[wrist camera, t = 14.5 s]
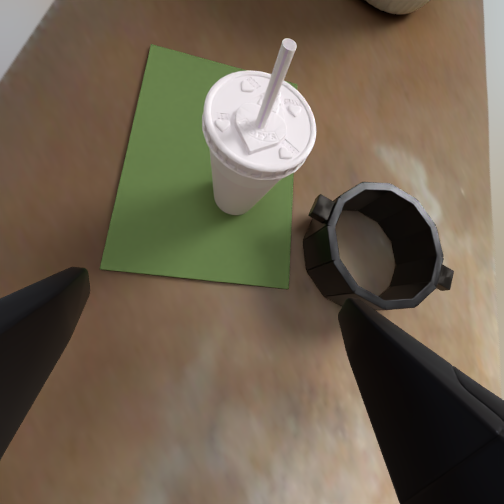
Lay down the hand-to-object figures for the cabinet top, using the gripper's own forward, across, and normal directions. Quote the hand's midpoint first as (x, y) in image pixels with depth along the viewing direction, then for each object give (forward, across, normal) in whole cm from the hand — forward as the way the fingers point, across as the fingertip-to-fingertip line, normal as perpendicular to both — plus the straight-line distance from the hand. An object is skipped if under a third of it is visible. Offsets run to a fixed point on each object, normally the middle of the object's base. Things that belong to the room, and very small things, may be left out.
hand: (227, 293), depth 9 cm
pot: (+13, -13, +4) cm, 19 cm away
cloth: (+18, +1, 0) cm, 18 cm away
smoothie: (+15, -1, +2) cm, 16 cm away
